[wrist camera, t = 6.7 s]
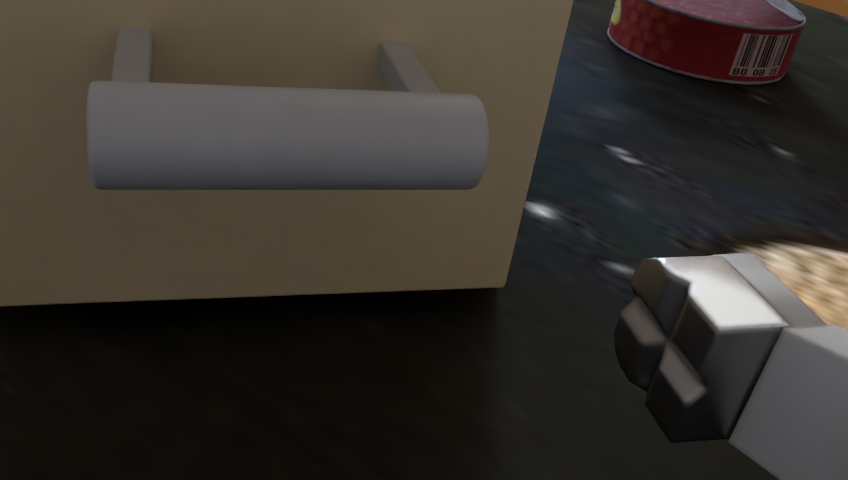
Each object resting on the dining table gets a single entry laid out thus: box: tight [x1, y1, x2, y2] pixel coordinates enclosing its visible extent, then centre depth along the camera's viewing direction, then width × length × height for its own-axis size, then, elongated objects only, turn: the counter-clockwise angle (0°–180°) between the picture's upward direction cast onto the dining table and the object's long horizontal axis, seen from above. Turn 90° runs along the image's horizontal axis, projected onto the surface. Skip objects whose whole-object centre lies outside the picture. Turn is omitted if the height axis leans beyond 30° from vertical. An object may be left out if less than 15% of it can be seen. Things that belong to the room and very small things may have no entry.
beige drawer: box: [0, 0, 573, 306], centre depth 21 cm, size 19×13×10 cm, turn 15°
